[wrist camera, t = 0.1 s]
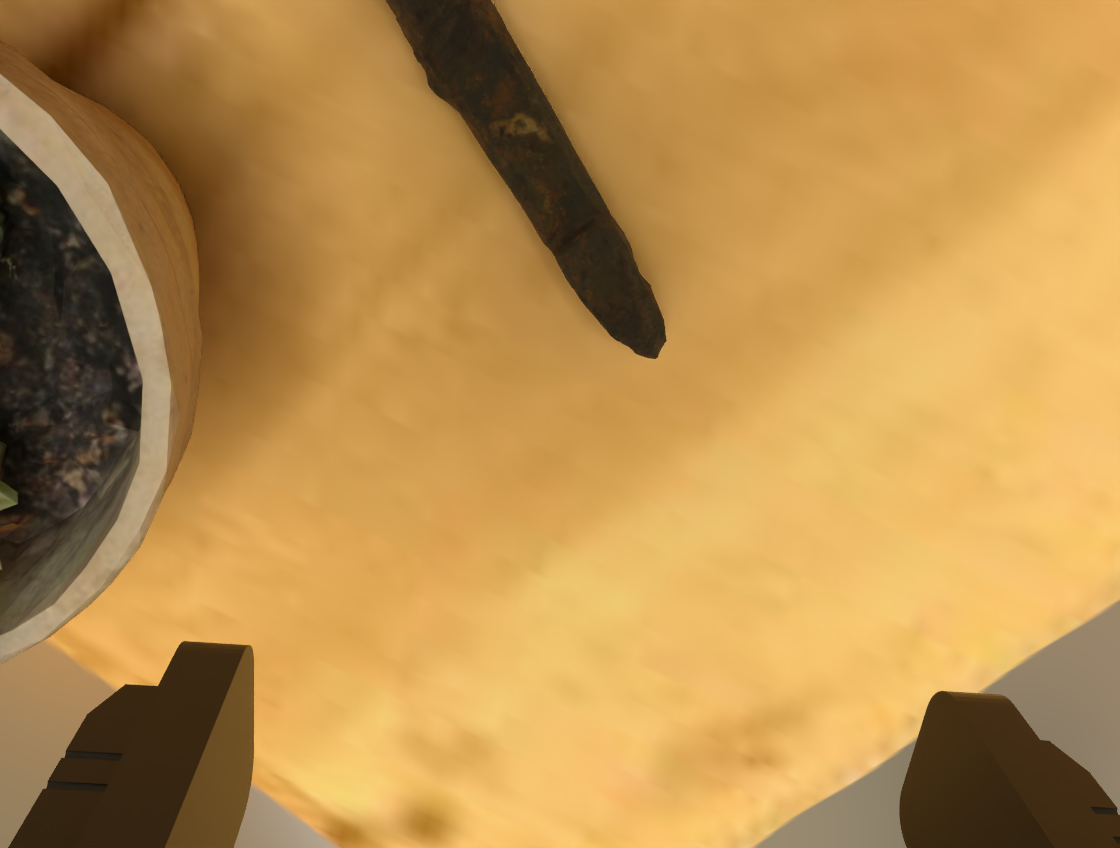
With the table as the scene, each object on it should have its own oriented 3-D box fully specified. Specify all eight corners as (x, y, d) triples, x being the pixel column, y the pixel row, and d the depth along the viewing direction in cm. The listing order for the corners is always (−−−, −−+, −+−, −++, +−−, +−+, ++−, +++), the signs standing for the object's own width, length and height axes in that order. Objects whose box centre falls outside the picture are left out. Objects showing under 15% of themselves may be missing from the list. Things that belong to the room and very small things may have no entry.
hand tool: (329, -72, 35) (305, -85, 30) (427, -136, 34) (416, -157, 30) (589, 370, 41) (599, 412, 37) (675, 324, 41) (695, 361, 36)
